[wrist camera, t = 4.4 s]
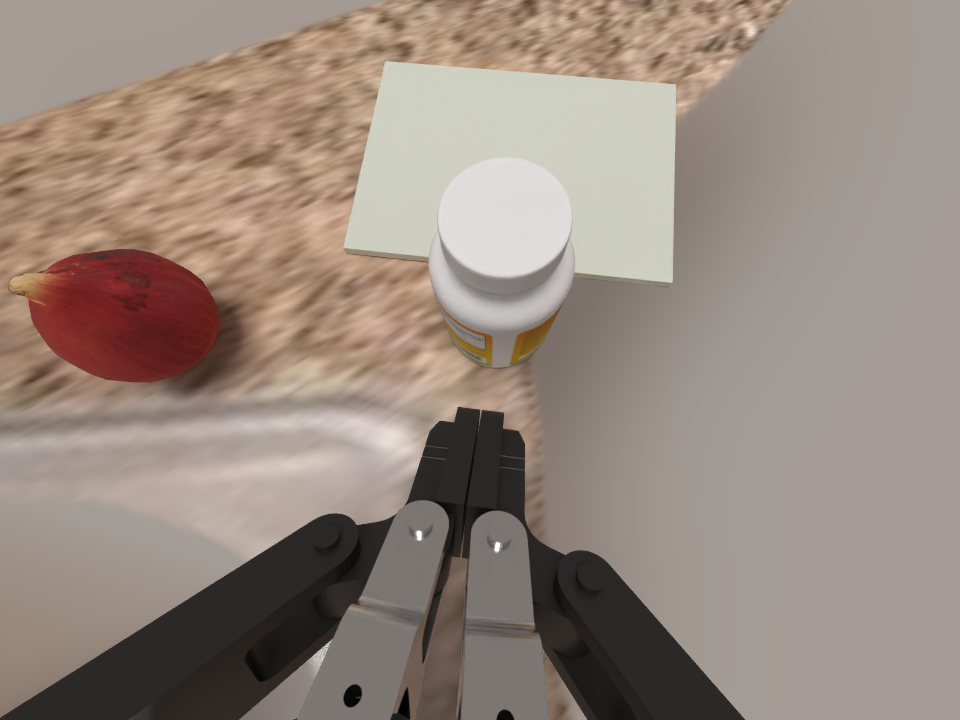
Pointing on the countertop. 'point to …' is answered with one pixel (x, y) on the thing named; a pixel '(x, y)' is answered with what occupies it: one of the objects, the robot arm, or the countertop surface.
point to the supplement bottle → (502, 258)
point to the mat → (530, 136)
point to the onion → (122, 314)
